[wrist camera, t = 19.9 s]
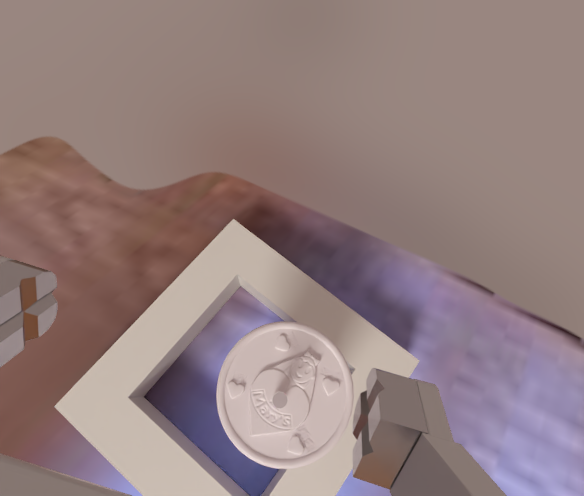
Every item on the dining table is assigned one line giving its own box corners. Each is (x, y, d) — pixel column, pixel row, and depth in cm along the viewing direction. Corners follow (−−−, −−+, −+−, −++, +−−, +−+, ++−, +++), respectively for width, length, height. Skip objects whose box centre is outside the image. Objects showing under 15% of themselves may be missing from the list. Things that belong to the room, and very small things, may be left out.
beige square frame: (78, 404, 25) (54, 406, 22) (236, 235, 30) (233, 218, 27) (262, 585, 22) (261, 614, 19) (404, 364, 27) (419, 360, 24)
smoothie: (214, 399, 25) (156, 399, 13) (276, 327, 28) (280, 263, 15) (286, 468, 24) (303, 547, 11) (345, 387, 26) (417, 375, 13)
